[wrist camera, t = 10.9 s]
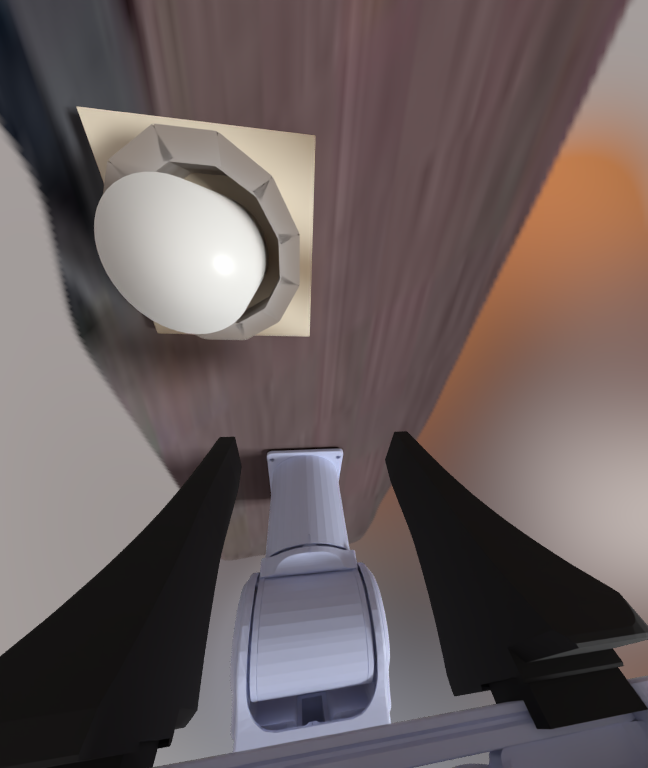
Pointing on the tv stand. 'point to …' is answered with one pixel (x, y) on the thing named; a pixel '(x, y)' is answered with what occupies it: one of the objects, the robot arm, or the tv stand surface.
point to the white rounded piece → (180, 251)
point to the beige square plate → (237, 181)
